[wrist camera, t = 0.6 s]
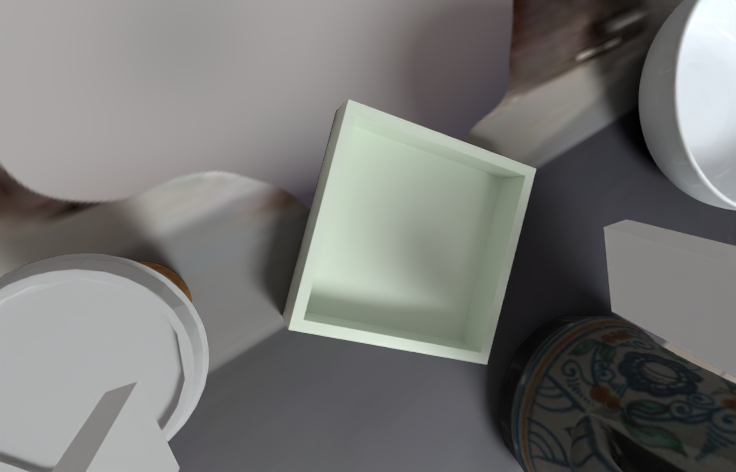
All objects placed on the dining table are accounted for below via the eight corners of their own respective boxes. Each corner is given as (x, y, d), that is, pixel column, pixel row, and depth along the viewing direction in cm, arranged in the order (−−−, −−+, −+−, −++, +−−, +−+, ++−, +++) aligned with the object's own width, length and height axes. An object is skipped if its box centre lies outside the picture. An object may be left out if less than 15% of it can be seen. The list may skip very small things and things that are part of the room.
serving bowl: (696, -45, 41) (784, -94, 34) (779, 123, 46) (869, 109, 40) (566, 88, 37) (637, 62, 30) (673, 254, 42) (754, 262, 36)
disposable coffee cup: (22, 283, 25) (-151, 345, 14) (171, 211, 28) (128, 212, 16) (110, 407, 27) (21, 550, 16) (243, 329, 30) (249, 405, 18)
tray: (336, 110, 31) (348, 98, 27) (507, 172, 35) (536, 168, 32) (282, 316, 30) (288, 329, 27) (463, 349, 35) (486, 364, 32)
